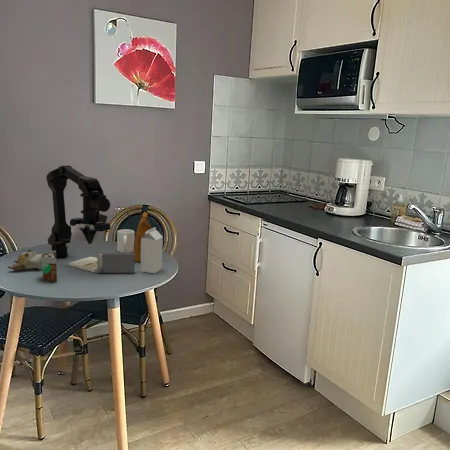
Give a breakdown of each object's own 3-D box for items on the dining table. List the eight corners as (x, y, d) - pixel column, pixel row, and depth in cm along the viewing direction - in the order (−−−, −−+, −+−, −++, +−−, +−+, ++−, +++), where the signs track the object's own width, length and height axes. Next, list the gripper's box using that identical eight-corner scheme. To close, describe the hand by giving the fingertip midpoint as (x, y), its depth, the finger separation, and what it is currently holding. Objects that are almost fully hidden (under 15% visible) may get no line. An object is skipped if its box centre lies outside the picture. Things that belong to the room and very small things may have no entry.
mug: (133, 255, 222) (133, 235, 220) (115, 255, 221) (115, 234, 219) (134, 249, 234) (134, 229, 232) (118, 248, 233) (118, 229, 230)
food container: (40, 274, 188) (39, 250, 186) (56, 273, 190) (55, 250, 188) (40, 284, 177) (39, 259, 175) (56, 283, 179) (56, 258, 177)
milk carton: (161, 269, 203) (163, 227, 199) (155, 274, 196) (156, 231, 193) (147, 267, 205) (148, 226, 201) (140, 271, 198) (141, 229, 194)
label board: (68, 265, 201) (68, 261, 201) (90, 259, 213) (90, 255, 212) (93, 272, 194) (93, 268, 194) (114, 265, 205) (115, 261, 205)
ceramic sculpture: (43, 252, 188) (5, 254, 186) (45, 272, 190) (7, 274, 188) (49, 245, 199) (12, 247, 196) (51, 265, 200) (14, 267, 198)
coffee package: (154, 255, 224) (155, 211, 220) (154, 262, 212) (155, 216, 208) (133, 255, 223) (134, 211, 218) (132, 262, 211) (133, 216, 206)
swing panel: (97, 273, 192) (97, 254, 190) (97, 270, 195) (97, 252, 193) (134, 272, 195) (134, 254, 193) (134, 270, 198) (134, 252, 196)
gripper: (119, 208, 196) (119, 244, 199) (88, 203, 205) (88, 237, 208) (100, 212, 187) (100, 249, 190) (68, 206, 196) (69, 241, 199)
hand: (90, 243), depth 197 cm, fingers closed
